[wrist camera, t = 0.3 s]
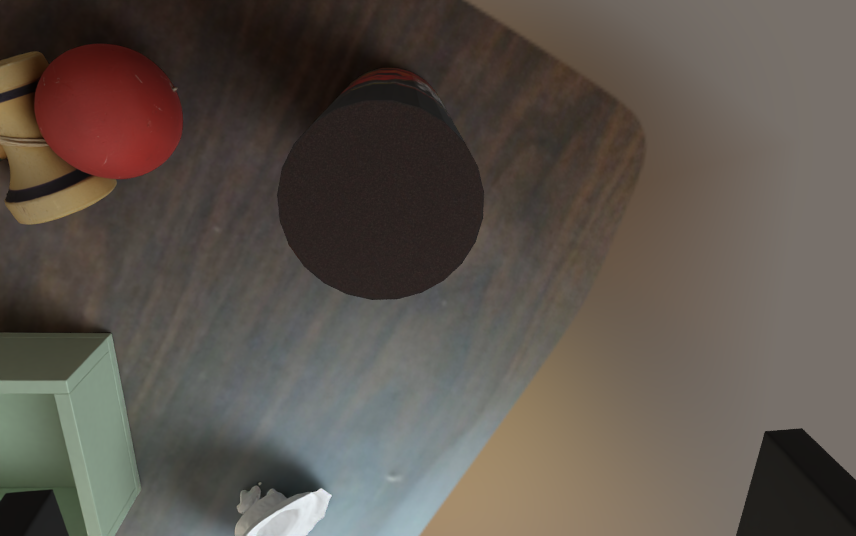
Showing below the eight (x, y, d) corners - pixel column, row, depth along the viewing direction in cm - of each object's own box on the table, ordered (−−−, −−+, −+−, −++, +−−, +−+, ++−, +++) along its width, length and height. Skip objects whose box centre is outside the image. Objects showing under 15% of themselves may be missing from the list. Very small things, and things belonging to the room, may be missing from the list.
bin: (-95, 331, 34) (-175, 380, 29) (111, 332, 35) (66, 380, 30) (-42, 490, 38) (-104, 555, 34) (141, 489, 39) (105, 552, 34)
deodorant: (317, 158, 31) (251, 261, 18) (355, 48, 29) (315, 63, 16) (421, 199, 32) (436, 325, 19) (464, 94, 31) (518, 148, 17)
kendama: (-58, 250, 34) (227, 178, 30) (-184, 278, 28) (155, 192, 24) (-115, 113, 32) (179, 22, 29) (-261, 111, 26) (89, -6, 23)
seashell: (284, 448, 43) (270, 445, 35) (338, 498, 42) (336, 506, 35) (200, 542, 40) (165, 560, 33) (256, 597, 40) (235, 628, 32)
